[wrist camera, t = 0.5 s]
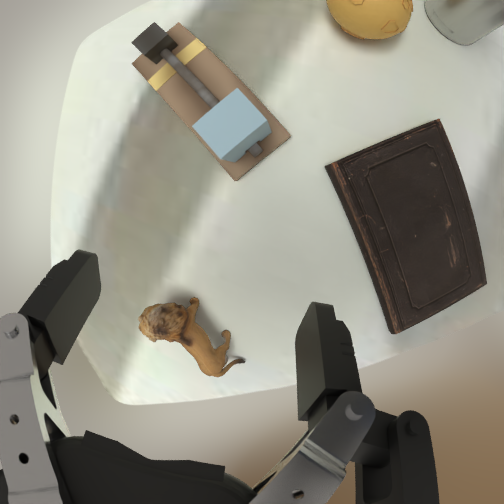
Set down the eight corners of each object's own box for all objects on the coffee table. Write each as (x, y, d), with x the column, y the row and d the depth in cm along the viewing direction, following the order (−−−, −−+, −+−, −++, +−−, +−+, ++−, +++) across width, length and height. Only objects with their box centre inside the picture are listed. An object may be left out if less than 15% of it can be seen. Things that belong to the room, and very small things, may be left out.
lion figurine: (154, 302, 40) (123, 332, 31) (175, 276, 38) (146, 304, 30) (233, 369, 41) (221, 411, 32) (259, 348, 40) (251, 390, 31)
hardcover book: (431, 121, 30) (439, 118, 28) (479, 278, 34) (487, 283, 32) (323, 166, 33) (326, 165, 31) (387, 328, 37) (392, 336, 35)
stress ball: (306, 18, 28) (310, -26, 19) (349, -19, 26) (362, -61, 16) (371, 66, 29) (397, 33, 19) (410, 25, 26) (439, -8, 17)
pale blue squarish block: (248, 106, 30) (237, 87, 23) (271, 132, 31) (267, 120, 24) (212, 136, 32) (191, 126, 24) (234, 162, 32) (220, 159, 25)
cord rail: (182, 26, 30) (168, 10, 25) (290, 137, 32) (291, 130, 28) (136, 67, 32) (118, 55, 27) (236, 180, 34) (228, 181, 30)
